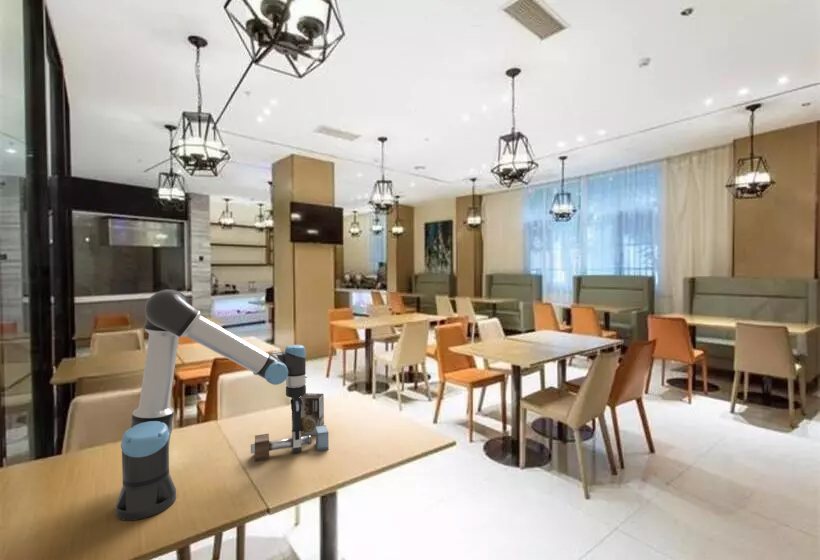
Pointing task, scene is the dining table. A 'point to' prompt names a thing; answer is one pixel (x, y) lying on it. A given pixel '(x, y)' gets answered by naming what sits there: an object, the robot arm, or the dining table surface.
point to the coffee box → (312, 413)
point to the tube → (286, 443)
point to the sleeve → (261, 447)
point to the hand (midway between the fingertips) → (296, 443)
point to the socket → (322, 438)
